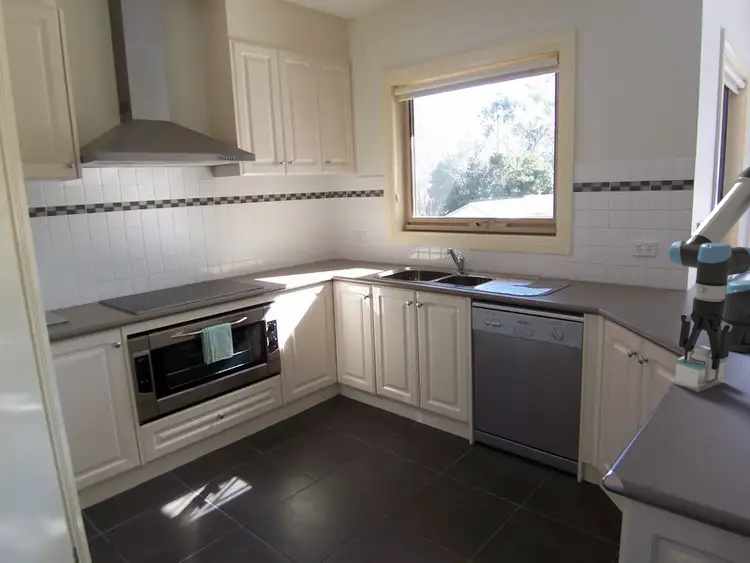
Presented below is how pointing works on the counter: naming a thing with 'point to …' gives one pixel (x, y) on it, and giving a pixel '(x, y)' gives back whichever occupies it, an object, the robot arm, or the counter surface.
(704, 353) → the pill bottle
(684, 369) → the teal white block
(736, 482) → the counter surface
